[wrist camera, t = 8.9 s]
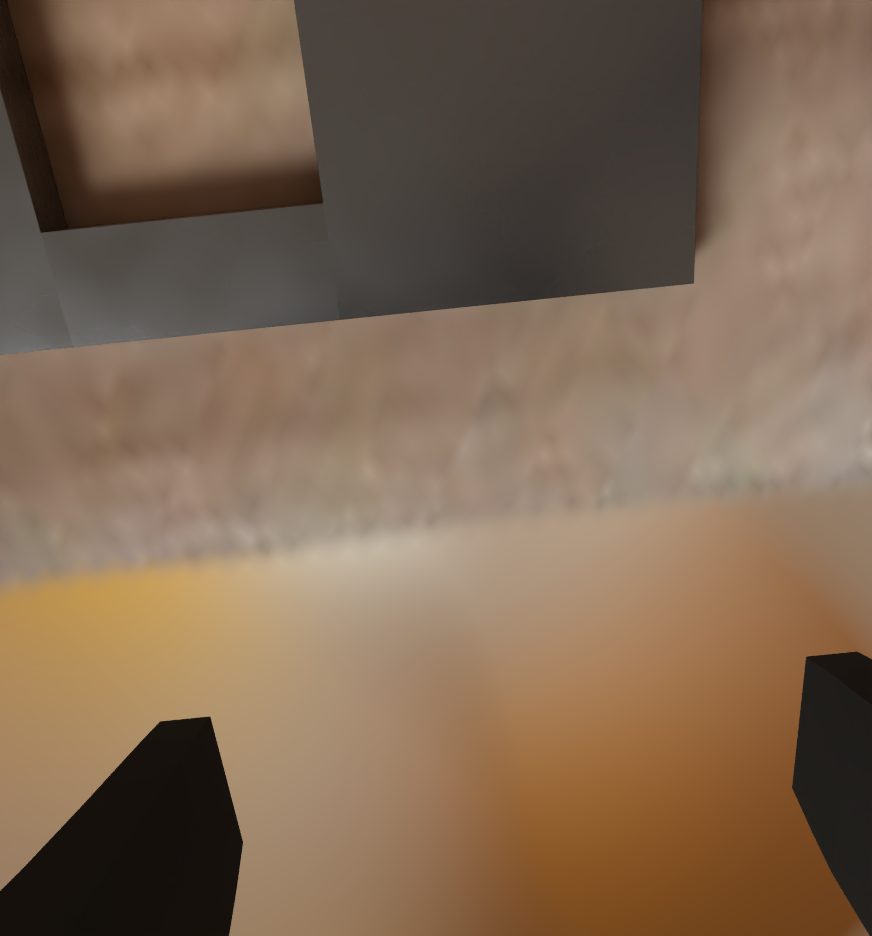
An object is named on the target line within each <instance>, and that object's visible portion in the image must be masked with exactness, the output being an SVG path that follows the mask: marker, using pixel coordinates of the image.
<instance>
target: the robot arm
mask: <svg viewBox="0 0 872 936" xmlns="http://www.w3.org/2000/svg"><path fill="white" fill-rule="evenodd" d="M792 788H793V791H794V793H795V795H796V797H797V799H798V802H799V804H800V806H801V808H802V811H803V813H804V815H805V817H806V819H807V822H808V824H809V826H810V828H811V831H812V833H813V835H814V837H815V839H816V841H817V843H818V845H819V847H820V849H821V851H822V853H823V855H824V858H825V860H826V862H827V864H828V866H829V868H830V870H831V872H832V874H833V876H834V877H835V879H836V881H837V882H838V884H839V886H840V887H841V889H842V891H843V892H844V894H845V896H846V897H847V899H848V901H849V902H850V904H851V906H852V907H853V909H854V910H855V912H856V914H857V915H858V917H859V919H860V920H861V922H862V924H863V925H864V927H865V928H866V930H867V932H868V933H869V935H870V936H872V659H870V658H868V657H866V656H864V655H862V654H861V653H858V652H849V653H839V654H829V655H819V656H809V657H806V664H805V673H804V682H803V692H802V701H801V711H800V720H799V729H798V739H797V748H796V757H795V767H794V776H793V785H792ZM242 846H243V841H242V837H241V833H240V829H239V825H238V821H237V818H236V814H235V810H234V806H233V802H232V798H231V794H230V791H229V787H228V783H227V779H226V775H225V771H224V768H223V764H222V760H221V756H220V752H219V748H218V745H217V741H216V737H215V733H214V729H213V726H212V722H211V718H210V717H201V718H191V719H181V720H171V721H162V722H159V724H158V725H157V726H156V727H155V728H154V729H153V730H152V731H151V732H150V733H149V734H148V735H147V736H146V737H145V738H144V739H143V740H142V741H141V742H140V743H139V744H138V746H137V747H136V748H135V749H134V750H133V751H132V752H131V753H130V754H129V755H128V756H127V757H126V759H125V760H124V761H123V762H122V763H121V764H120V765H119V766H118V767H117V768H116V769H115V771H114V772H113V773H112V774H111V775H110V776H109V777H108V778H107V779H106V780H105V781H104V783H103V784H102V785H101V786H100V787H99V788H98V789H97V790H96V791H95V792H94V793H93V795H92V796H91V797H90V798H89V799H88V800H87V801H86V802H85V803H84V805H82V806H81V808H80V809H79V810H78V811H77V812H76V813H75V814H74V815H73V816H72V817H71V818H70V819H69V820H68V821H67V823H66V824H65V825H64V826H63V827H62V828H61V829H60V830H59V831H58V832H57V833H56V834H55V835H54V836H53V837H52V838H51V839H50V840H49V842H48V843H47V844H46V845H45V846H44V847H43V848H42V849H41V850H40V851H39V852H38V853H37V854H36V856H34V857H33V858H32V860H31V861H30V862H29V863H28V864H27V865H26V866H25V867H24V868H23V869H22V870H21V871H20V872H19V873H18V874H17V875H16V876H15V877H14V878H13V879H12V880H11V881H10V882H9V883H8V884H7V885H6V886H5V887H4V888H3V889H2V890H1V891H0V936H229V932H230V926H231V920H232V914H233V908H234V902H235V895H236V889H237V881H238V875H239V867H240V860H241V853H242Z"/></svg>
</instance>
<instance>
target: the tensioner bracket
mask: <svg viewBox="0 0 872 936" xmlns="http://www.w3.org/2000/svg"><path fill="white" fill-rule="evenodd" d="M294 3H295V10H296V17H297V24H298V31H299V38H300V45H301V52H302V59H303V66H304V73H305V80H306V87H307V94H308V101H309V107H310V114H311V121H312V128H313V135H314V142H315V149H316V156H317V163H318V170H319V177H320V184H321V191H322V198H323V202H316V203H307V204H297V205H287V206H278V207H268V208H258V209H249V210H239V211H229V212H220V213H210V214H201V215H191V216H181V217H172V218H162V219H152V220H143V221H133V222H123V223H114V224H104V225H94V226H85V227H75V228H67V226H66V223H65V219H64V215H63V211H62V208H61V204H60V200H59V196H58V193H57V189H56V185H55V182H54V178H53V174H52V170H51V167H50V163H49V159H48V155H47V152H46V148H45V144H44V141H43V137H42V133H41V129H40V126H39V122H38V118H37V114H36V111H35V107H34V103H33V100H32V96H31V92H30V88H29V85H28V81H27V77H26V73H25V70H24V66H23V62H22V59H21V55H20V51H19V47H18V44H17V40H16V36H15V32H14V29H13V25H12V21H11V17H10V14H9V10H8V6H7V3H6V0H0V355H2V354H12V353H22V352H32V351H41V350H51V349H61V348H71V347H80V346H90V345H100V344H109V343H119V342H129V341H139V340H148V339H158V338H168V337H177V336H187V335H197V334H207V333H216V332H226V331H236V330H245V329H255V328H265V327H275V326H284V325H294V324H304V323H313V322H323V321H333V320H343V319H352V318H362V317H372V316H382V315H391V314H401V313H411V312H420V311H430V310H440V309H450V308H459V307H469V306H479V305H488V304H498V303H508V302H518V301H527V300H537V299H547V298H556V297H566V296H576V295H586V294H595V293H605V292H615V291H624V290H634V289H644V288H654V287H663V286H673V285H683V284H693V283H694V262H695V231H696V199H697V168H698V137H699V106H700V75H701V43H702V12H703V0H294Z"/></svg>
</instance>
